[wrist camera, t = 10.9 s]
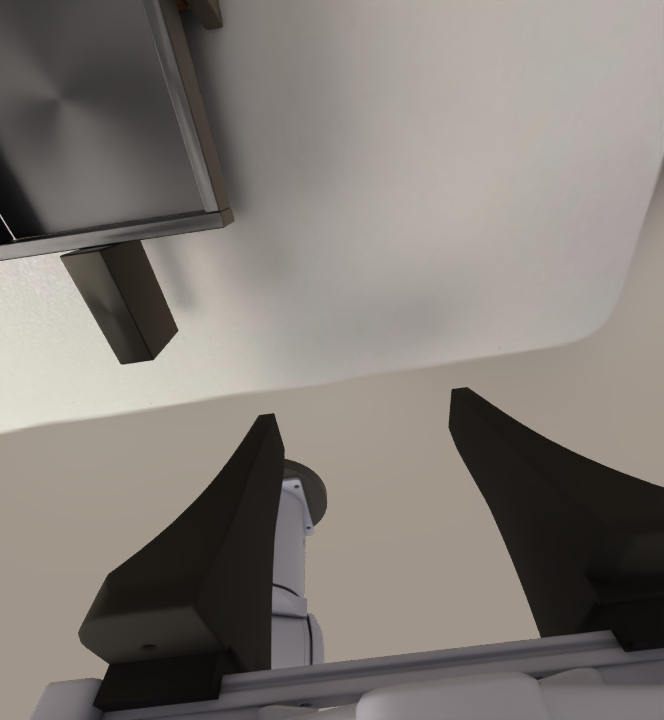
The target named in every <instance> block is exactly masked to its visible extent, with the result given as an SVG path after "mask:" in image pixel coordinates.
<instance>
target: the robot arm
mask: <svg viewBox="0 0 664 720" xmlns="http://www.w3.org/2000/svg"><path fill="white" fill-rule="evenodd" d="M449 430H450V432H451V435H452V438H453V440H454V443H455V445H456V447H457V450H458V452H459V454H460V455H461V457H462V459H463V461H464V463H465V465H466V466H467V468H468V470H469V472H470V473H471V475H472V477H473V479H474V481H475V482H476V484H477V486H478V488H479V490H480V491H481V493H482V495H483V496H484V498H485V500H486V502H487V504H488V506H489V508H490V510H491V512H492V515H493V517H494V519H495V521H496V524H497V526H498V528H499V530H500V533H501V535H502V537H503V540H504V542H505V545H506V547H507V549H508V552H509V554H510V556H511V559H512V561H513V564H514V566H515V569H516V572H517V574H518V577H519V579H520V582H521V585H522V587H523V590H524V592H525V595H526V597H527V600H528V603H529V606H530V609H531V611H532V614H533V617H534V620H535V622H536V625H537V628H538V631H539V633H540V636H541V638H537V639H529V640H520V641H512V642H504V643H495V644H486V645H478V646H469V647H461V648H453V649H444V650H435V651H427V652H418V653H410V654H401V655H392V656H384V657H375V658H367V659H359V660H350V661H341V662H333V663H324V644H323V636H322V631H321V629H320V626H319V624H318V623H317V620H316V618H315V616H314V615H313V614H311V613H307V599H306V598H303V596H304V587H305V584H304V583H305V538H306V536H310V535H313V534H314V526H313V523H312V519H311V515H310V512H309V508H308V504H307V501H306V497H305V494H304V490H303V486H302V483H301V479H300V478H298V477H292V478H284V479H283V476H284V452H285V449H284V445H283V442H282V439H281V435H280V432H279V428H278V425H277V422H276V418H275V415H274V413H272V414H265V415H259V416H258V417H257V419H256V421H255V422H254V424H253V425H252V427H251V428H250V430H249V432H248V433H247V435H246V436H245V438H244V439H243V441H242V442H241V444H240V445H239V447H238V448H237V450H236V451H235V452H234V454H233V455H232V457H231V458H230V459H229V461H228V462H227V464H226V465H225V466H224V467H223V469H222V470H221V471H220V473H219V474H218V475H217V476H216V478H215V479H214V480H213V481H212V482H211V484H210V485H209V486H208V487H207V488H206V489H205V490H204V491H203V493H202V494H201V495H200V496H199V497H198V498H197V499H196V500H195V501H194V502H193V503H192V504H191V505H190V506H189V507H188V508H187V509H186V510H185V511H184V512H183V513H182V514H181V515H180V516H179V517H178V518H177V519H176V520H175V521H174V522H173V523H172V524H170V525H169V526H168V527H167V528H166V529H165V530H164V531H162V532H161V533H160V534H159V535H158V536H157V537H155V538H154V539H153V540H152V541H151V542H150V543H148V544H147V545H146V546H145V547H143V548H142V549H141V550H140V551H138V552H137V553H136V554H134V555H133V556H132V557H131V558H130V559H128V560H127V561H125V562H124V563H123V564H121V565H120V566H119V567H118V568H116V569H115V570H113V571H112V572H111V573H109V574H108V576H107V577H106V579H105V581H104V583H103V584H102V586H101V588H100V590H99V592H98V594H97V596H96V598H95V600H94V602H93V604H92V606H91V608H90V610H89V611H88V613H87V615H86V618H85V619H84V621H83V623H82V626H81V627H80V630H79V632H78V635H79V638H80V641H81V643H82V644H83V645H84V646H85V647H86V648H87V649H89V650H91V651H92V652H93V653H94V654H96V655H97V656H99V657H100V658H102V659H103V660H104V661H106V662H107V663H108V664H110V665H109V667H108V669H107V672H106V674H105V677H104V679H103V680H101V679H96V678H85V679H76V680H68V681H60V682H51V683H49V684H48V685H47V686H46V687H45V689H44V691H43V692H42V694H41V696H40V698H39V700H38V702H37V704H36V706H35V708H34V710H33V711H32V714H31V715H30V717H29V719H28V720H664V487H661V486H658V485H655V484H651V483H649V482H646V481H643V480H640V479H638V478H635V477H632V476H630V475H627V474H624V473H621V472H619V471H617V470H614V469H612V468H609V467H607V466H604V465H602V464H600V463H597V462H595V461H593V460H590V459H588V458H586V457H584V456H581V455H579V454H577V453H575V452H573V451H571V450H569V449H567V448H565V447H563V446H561V445H559V444H557V443H555V442H553V441H551V440H549V439H547V438H545V437H544V436H542V435H540V434H538V433H536V432H535V431H533V430H531V429H530V428H528V427H526V426H525V425H523V424H521V423H519V422H518V421H516V420H515V419H513V418H512V417H510V416H509V415H507V414H506V413H504V412H503V411H501V410H500V409H498V408H497V407H495V406H494V405H492V404H491V403H489V402H488V401H486V400H485V399H484V398H482V397H481V396H479V395H478V394H476V393H475V392H473V391H472V390H471V389H469V388H468V387H465V388H457V389H452V392H451V404H450V415H449ZM337 706H342V707H338V708H333V709H328V710H324V711H320V712H318V710H319V709H320V708H328V707H337Z"/></svg>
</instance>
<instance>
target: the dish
mask: <svg viewBox="0 0 664 720" xmlns="http://www.w3.org/2000/svg"><path fill="white" fill-rule="evenodd" d="M202 211H203V212H202ZM196 212H197V213H196ZM189 213H190V214H189ZM0 214H1V216H2V218H3V219H4V221H5V223H6V224H7V226H8V227H9V229H10V231H11V232H12V234H13V235H14V237H15V238H16V239H17V240H13V239H14V238H13V237H12V235H11V233H10V232H9V230H8V229H7V227H6V225H5V224H4V222H3V221H2V219H1V217H0V261H3V260H10V259H17V258H23V257H30V256H37V255H44V254H50V253H57V252H64V251H71V250H76V251H73V252H70V253H67V254H64V255H61V256H60V258H61V260H62V262H63V263H64V265H65V267H66V269H67V270H68V272H69V274H70V276H71V277H72V279H73V281H74V283H75V284H76V286H77V288H78V290H79V292H80V293H81V295H82V297H83V299H84V300H85V302H86V304H87V306H88V307H89V309H90V311H91V313H92V314H93V316H94V318H95V320H96V322H97V323H98V325H99V327H100V329H101V330H102V332H103V334H104V336H105V337H106V339H107V341H108V343H109V345H110V346H111V348H112V350H113V352H114V353H115V355H116V357H117V359H118V360H119V362H120V364H129V363H137V362H144V361H151V360H154V359H155V358H156V357H157V356H158V354H159V353H160V352H161V351H162V350H163V349H164V347H165V346H166V345H167V344H168V343H169V341H170V340H171V339H172V338H173V337H174V336H175V334H176V333H177V332H178V328H177V326H176V323H175V321H174V319H173V316H172V314H171V312H170V309H169V307H168V305H167V302H166V300H165V298H164V295H163V293H162V290H161V288H160V286H159V283H158V281H157V279H156V276H155V274H154V272H153V269H152V267H151V265H150V262H149V260H148V258H147V255H146V253H145V250H144V248H143V246H142V243H141V241H140V240H145V239H151V238H158V237H165V236H171V235H178V234H185V233H192V232H198V231H205V230H212V229H219V228H224V227H226V226H227V225H229V224H231V223H232V222H234V221H235V220H234V216H233V213H232V209H231V208H230V202H229V198H228V194H227V191H226V187H225V183H224V179H223V176H222V172H221V168H220V165H219V161H218V157H217V153H216V150H215V146H214V142H213V138H212V135H211V131H210V127H209V124H208V120H207V116H206V112H205V109H204V105H203V101H202V97H201V94H200V90H199V86H198V83H197V79H196V75H195V71H194V68H193V64H192V60H191V56H190V53H189V49H188V45H187V42H186V38H185V34H184V30H183V27H182V23H181V19H180V15H179V12H178V8H177V4H176V0H0ZM182 214H183V215H182ZM176 215H177V216H176ZM169 216H170V217H169ZM162 217H163V218H162ZM156 218H157V219H156ZM149 219H150V220H149ZM142 220H143V221H142ZM136 221H137V222H136ZM129 222H130V223H129ZM122 223H123V224H122ZM116 224H117V225H116ZM109 225H110V226H109ZM102 226H103V227H102ZM96 227H97V228H96ZM89 228H90V229H89ZM82 229H83V230H82ZM76 230H77V231H76ZM69 231H70V232H69ZM62 232H63V233H62ZM56 233H57V234H56ZM49 234H50V235H49ZM42 235H43V236H42ZM36 236H37V237H36ZM29 237H30V238H29ZM22 238H23V239H22ZM77 249H79V250H77Z"/></svg>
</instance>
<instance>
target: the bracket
mask: <svg viewBox="0 0 664 720" xmlns="http://www.w3.org/2000/svg"><path fill="white" fill-rule="evenodd" d="M185 1H186V2H187V4H188V5H189V6H190V8H191V9H192V10H193V12H194V13H195V15H196V16H197V17H198V19H199V20H200V21H201V23H202V24H203V25H204V27H205V28H206V29H213V28H219V27H222V26H223V23H222V18H221V14H220V9H219V5H218V0H185Z"/></svg>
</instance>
